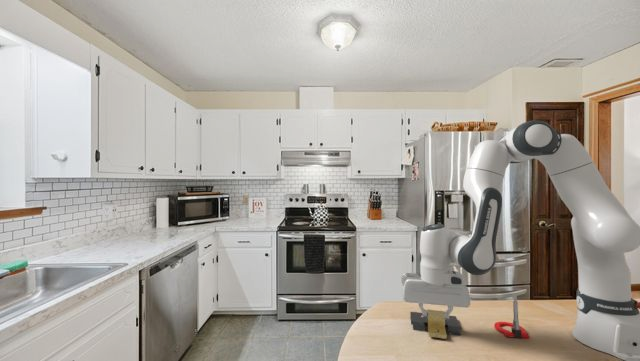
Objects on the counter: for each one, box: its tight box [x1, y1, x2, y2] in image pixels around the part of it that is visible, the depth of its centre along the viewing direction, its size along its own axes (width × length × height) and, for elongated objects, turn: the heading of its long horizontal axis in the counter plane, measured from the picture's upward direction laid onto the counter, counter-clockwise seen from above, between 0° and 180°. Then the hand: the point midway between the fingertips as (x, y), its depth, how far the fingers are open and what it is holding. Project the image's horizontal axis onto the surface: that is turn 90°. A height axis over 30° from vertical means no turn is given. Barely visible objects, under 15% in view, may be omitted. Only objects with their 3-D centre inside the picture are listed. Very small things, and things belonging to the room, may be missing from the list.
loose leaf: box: [426, 309, 448, 340], centre depth 91 cm, size 5×8×5 cm, turn 164°
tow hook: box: [493, 294, 530, 339], centre depth 93 cm, size 8×13×9 cm
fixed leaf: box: [410, 311, 461, 336], centre depth 97 cm, size 15×10×3 cm
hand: (435, 317), depth 94 cm, fingers open, 5 cm apart
